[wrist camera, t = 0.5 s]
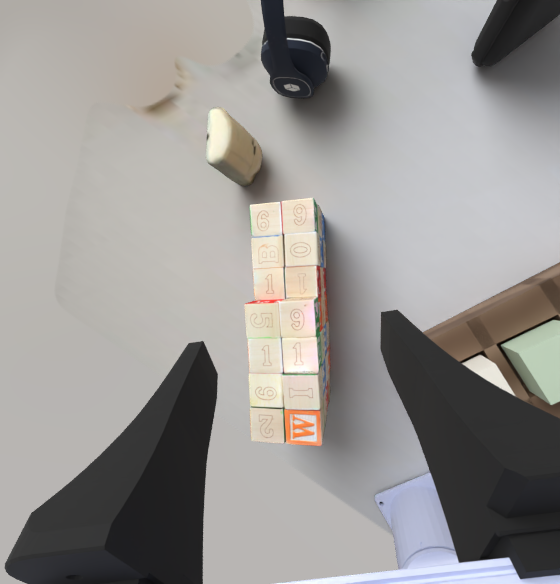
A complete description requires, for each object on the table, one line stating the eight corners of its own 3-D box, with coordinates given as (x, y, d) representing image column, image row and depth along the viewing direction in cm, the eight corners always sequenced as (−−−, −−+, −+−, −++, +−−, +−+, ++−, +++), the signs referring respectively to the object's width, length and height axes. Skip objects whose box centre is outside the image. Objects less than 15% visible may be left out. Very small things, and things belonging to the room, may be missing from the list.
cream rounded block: (216, 155, 40) (184, 126, 32) (250, 129, 39) (225, 92, 31) (240, 193, 39) (212, 173, 32) (274, 168, 38) (255, 140, 31)
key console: (682, 343, 30) (730, 353, 27) (443, 444, 36) (455, 465, 32) (609, 236, 31) (646, 231, 27) (387, 350, 36) (391, 359, 33)
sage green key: (584, 367, 29) (613, 378, 26) (529, 391, 30) (551, 405, 27) (553, 319, 30) (579, 325, 26) (500, 344, 31) (518, 353, 27)
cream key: (508, 400, 31) (527, 415, 27) (458, 421, 32) (471, 438, 28) (480, 354, 31) (495, 363, 28) (432, 377, 32) (441, 389, 29)
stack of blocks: (273, 220, 39) (237, 194, 27) (324, 215, 37) (311, 186, 25) (280, 393, 40) (249, 443, 28) (331, 395, 38) (322, 449, 26)
